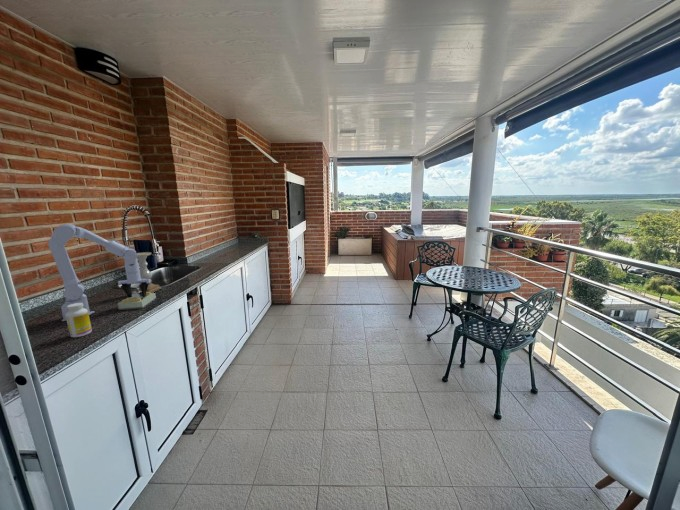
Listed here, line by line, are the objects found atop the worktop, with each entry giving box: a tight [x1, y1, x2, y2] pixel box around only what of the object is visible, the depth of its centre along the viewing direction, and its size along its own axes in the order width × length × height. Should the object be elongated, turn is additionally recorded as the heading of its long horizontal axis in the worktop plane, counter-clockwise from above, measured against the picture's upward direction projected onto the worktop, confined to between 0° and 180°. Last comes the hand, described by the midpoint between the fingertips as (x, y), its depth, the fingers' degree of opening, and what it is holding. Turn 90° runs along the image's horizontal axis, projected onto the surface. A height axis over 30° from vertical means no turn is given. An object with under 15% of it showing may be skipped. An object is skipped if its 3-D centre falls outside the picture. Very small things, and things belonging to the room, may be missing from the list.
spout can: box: [131, 287, 144, 300], centre depth 145 cm, size 5×5×8 cm
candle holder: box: [132, 251, 162, 293], centre depth 163 cm, size 11×11×24 cm
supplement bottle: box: [66, 303, 93, 338], centre depth 111 cm, size 7×7×13 cm
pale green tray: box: [117, 292, 157, 311], centre depth 145 cm, size 14×11×5 cm
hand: (137, 296), depth 145 cm, fingers open, 6 cm apart
